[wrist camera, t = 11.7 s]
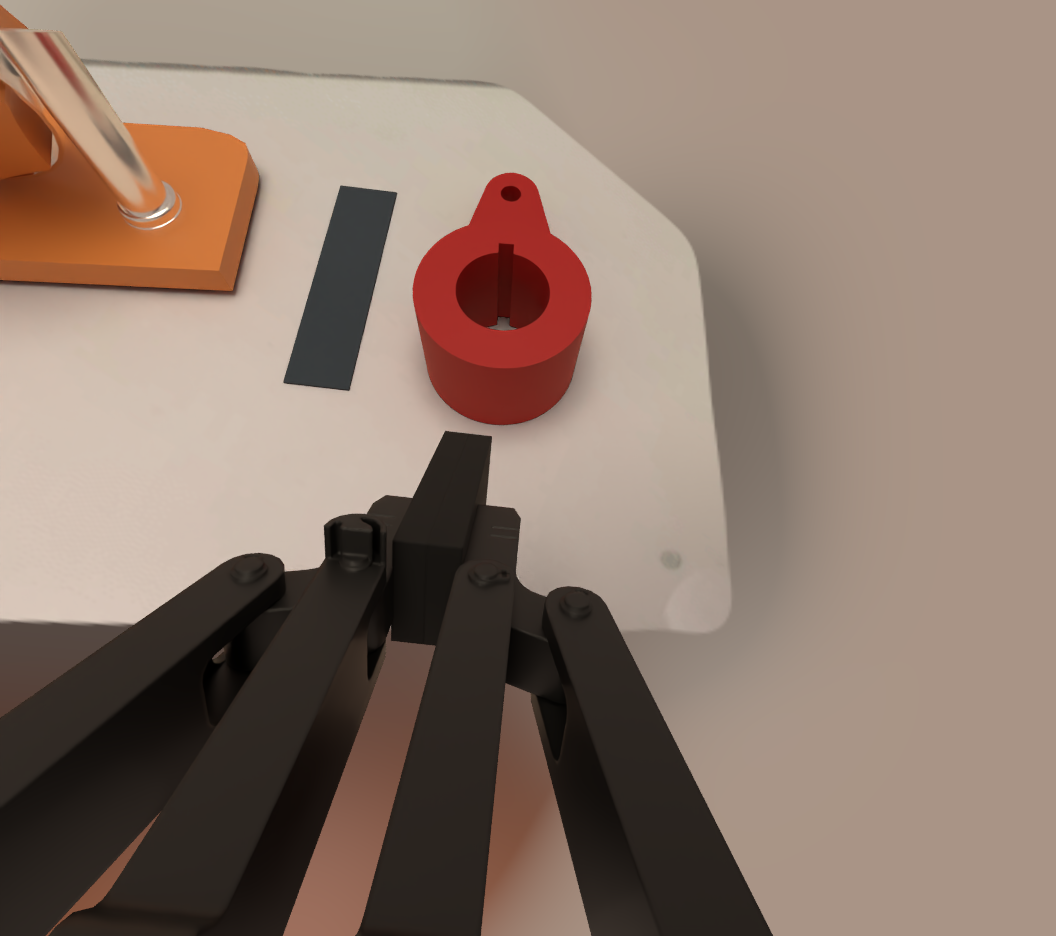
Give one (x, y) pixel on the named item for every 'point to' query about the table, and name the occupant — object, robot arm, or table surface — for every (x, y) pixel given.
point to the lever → (502, 308)
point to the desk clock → (109, 181)
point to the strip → (341, 290)
